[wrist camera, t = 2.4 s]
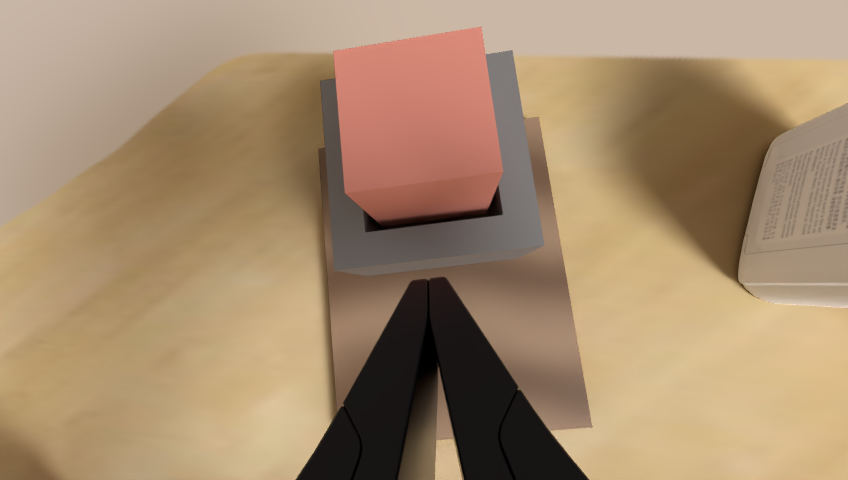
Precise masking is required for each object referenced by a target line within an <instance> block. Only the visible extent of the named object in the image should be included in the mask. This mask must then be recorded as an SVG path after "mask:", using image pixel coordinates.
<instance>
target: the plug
mask: <svg viewBox="0 0 848 480" xmlns="http://www.w3.org/2000/svg"><path fill="white" fill-rule="evenodd" d="M333 53H334V65H335V77H336V90H337V102H338V114H339V127H340V139H341V152H342V164H343V176H344V189H345V194H346V195H347V196H349V197H350V198H351V199H352V200H353V201H354V202H355V203H357V204H358V205H359V206H360V207H361V208H362V209H363V210H365V211H366V212H367V213H368V214H369V215H370V216H371V217H372V218H374V219H375V220H376V221H377V222H378V223H379V224H380V225H382V226H383V227H385V226H393V225H401V224H409V223H417V222H424V221H432V220H440V219H448V218H456V217H464V216H471V215H479V214H486V213H487V210H488V208H489V205H490V203H491V201H492V198H493V196H494V193H495V191H496V188H497V186H498V184H499V181H500V179H501V176H502V174H503V166H502V160H501V153H500V147H499V140H498V133H497V127H496V120H495V114H494V107H493V101H492V94H491V87H490V81H489V74H488V68H487V61H486V55H485V48H484V42H483V35H482V29H481V27H477V28H471V29H465V30H459V31H452V32H446V33H441V34H434V35H429V36H423V37H416V38H410V39H405V40H398V41H392V42H386V43H380V44H374V45H368V46H361V47H356V48H349V49H343V50H337V51H334V52H333Z"/></svg>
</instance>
